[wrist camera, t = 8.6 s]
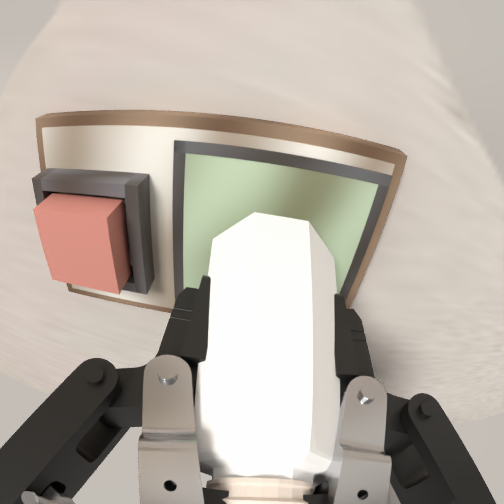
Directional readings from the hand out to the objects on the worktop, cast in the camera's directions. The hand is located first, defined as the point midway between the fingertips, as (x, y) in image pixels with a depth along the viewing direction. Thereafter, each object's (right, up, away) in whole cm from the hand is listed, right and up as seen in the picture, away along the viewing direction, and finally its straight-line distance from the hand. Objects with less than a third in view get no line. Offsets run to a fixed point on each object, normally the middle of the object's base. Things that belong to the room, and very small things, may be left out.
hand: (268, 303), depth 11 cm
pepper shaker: (0, +1, +2) cm, 2 cm away
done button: (-8, +3, +2) cm, 9 cm away
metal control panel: (-3, +3, +4) cm, 6 cm away
